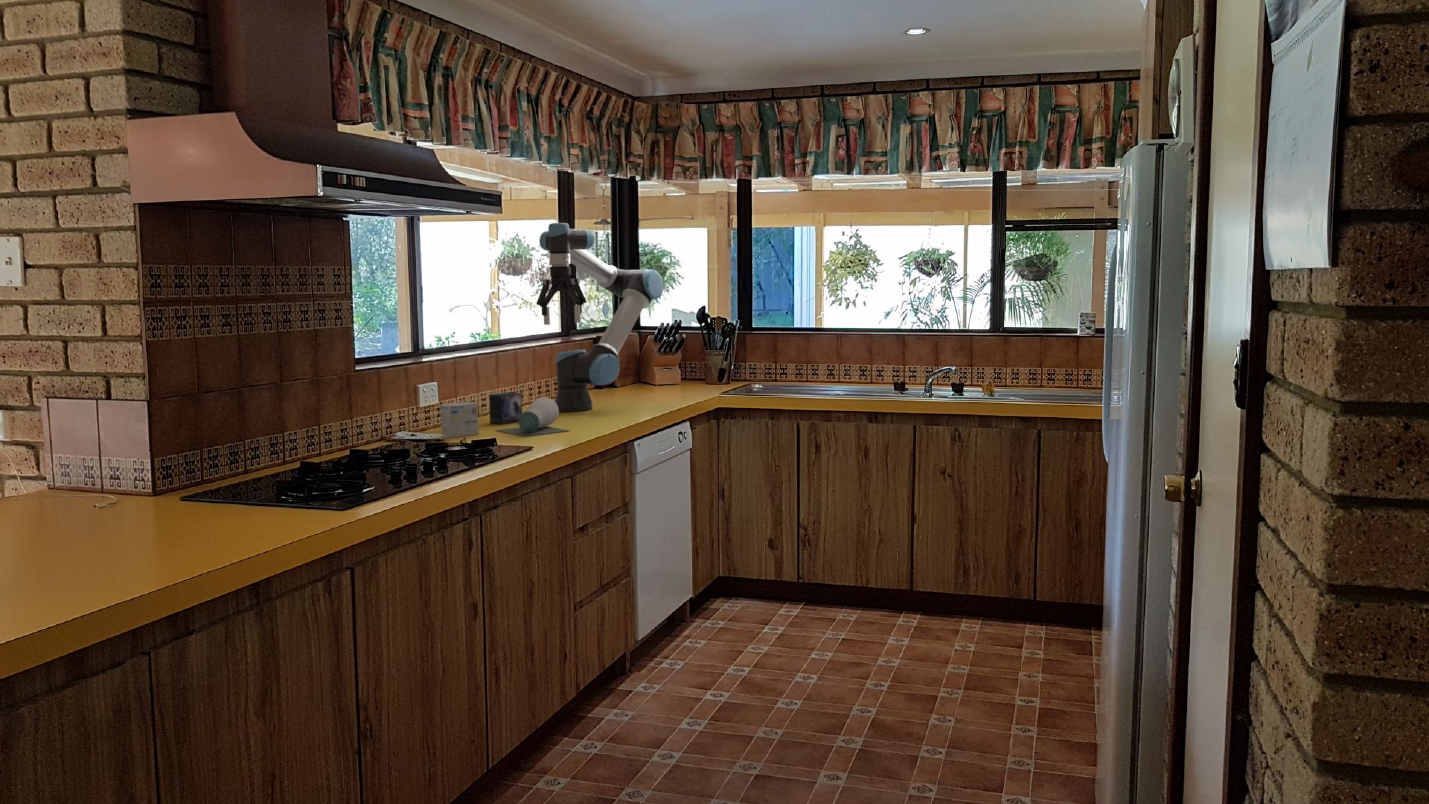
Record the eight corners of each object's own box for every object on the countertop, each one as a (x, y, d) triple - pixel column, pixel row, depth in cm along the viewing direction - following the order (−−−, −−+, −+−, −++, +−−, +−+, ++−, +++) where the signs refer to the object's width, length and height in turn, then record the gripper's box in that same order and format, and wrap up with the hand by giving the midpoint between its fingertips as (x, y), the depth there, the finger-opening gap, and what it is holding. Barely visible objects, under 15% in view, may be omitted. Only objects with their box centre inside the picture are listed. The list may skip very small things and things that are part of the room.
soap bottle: (564, 406, 372) (544, 421, 350) (551, 429, 375) (529, 445, 353) (541, 391, 373) (518, 405, 351) (527, 413, 375) (505, 429, 353)
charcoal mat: (538, 425, 376) (538, 424, 376) (569, 431, 361) (569, 430, 361) (495, 431, 365) (495, 430, 365) (525, 436, 350) (525, 435, 350)
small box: (501, 424, 381) (500, 395, 380) (489, 423, 385) (487, 394, 384) (523, 421, 389) (522, 392, 388) (511, 420, 393) (510, 391, 392)
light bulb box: (468, 432, 363) (467, 401, 362) (479, 434, 358) (478, 402, 357) (440, 436, 356) (439, 404, 354) (451, 438, 351) (449, 405, 349)
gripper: (536, 266, 382) (539, 325, 384) (594, 264, 398) (596, 322, 401) (525, 266, 387) (528, 325, 390) (582, 265, 404) (584, 321, 406)
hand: (562, 323), depth 395 cm, fingers open, 13 cm apart
